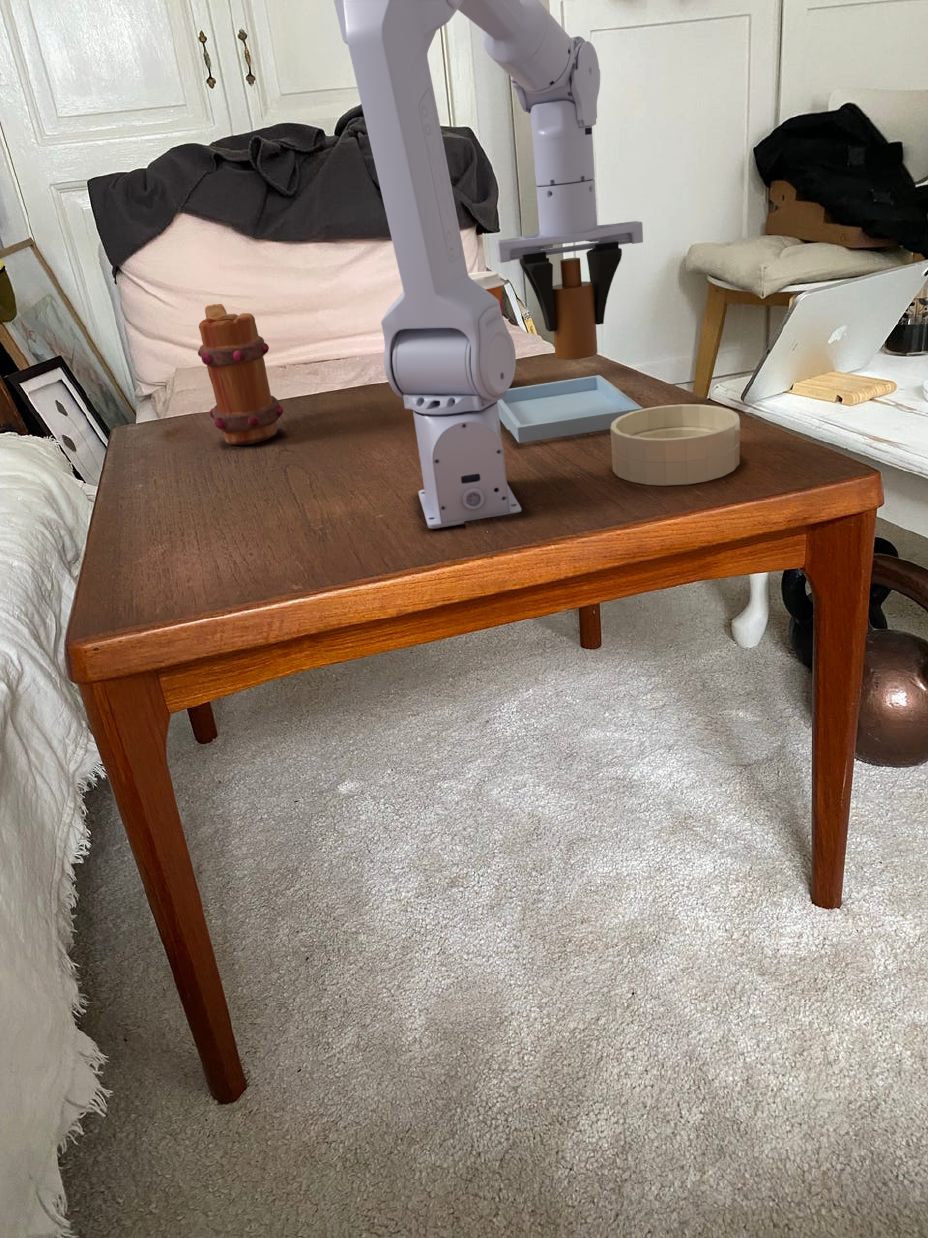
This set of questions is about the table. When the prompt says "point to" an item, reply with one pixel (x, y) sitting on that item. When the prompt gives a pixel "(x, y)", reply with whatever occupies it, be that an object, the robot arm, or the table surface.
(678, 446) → the bowl
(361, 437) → the table surface
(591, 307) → the bottle
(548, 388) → the tray
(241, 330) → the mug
